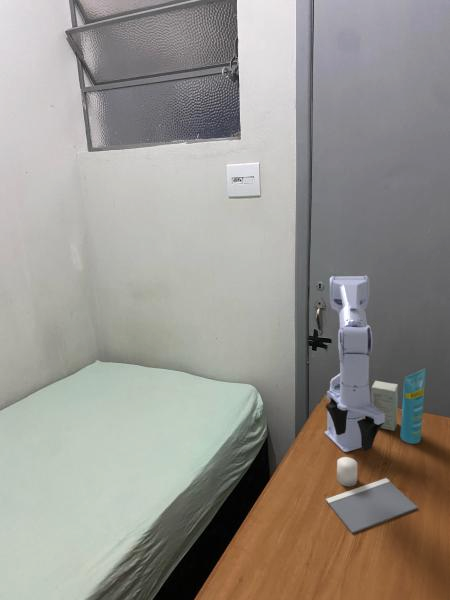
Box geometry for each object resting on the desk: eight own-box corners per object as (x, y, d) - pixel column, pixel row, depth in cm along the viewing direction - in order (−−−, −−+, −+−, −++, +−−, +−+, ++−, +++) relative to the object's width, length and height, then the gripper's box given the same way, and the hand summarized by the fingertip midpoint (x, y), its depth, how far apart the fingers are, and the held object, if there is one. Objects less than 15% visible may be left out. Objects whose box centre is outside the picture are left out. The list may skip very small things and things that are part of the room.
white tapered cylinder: (333, 476, 96) (333, 460, 94) (349, 471, 97) (349, 455, 96) (344, 488, 92) (344, 472, 90) (360, 483, 93) (361, 466, 92)
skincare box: (397, 423, 114) (399, 384, 110) (394, 431, 110) (396, 391, 107) (373, 418, 117) (375, 379, 114) (369, 425, 114) (371, 386, 110)
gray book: (325, 500, 89) (325, 498, 88) (385, 479, 93) (385, 477, 93) (352, 533, 80) (352, 531, 80) (417, 508, 85) (417, 506, 85)
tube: (410, 448, 103) (415, 380, 98) (393, 439, 107) (397, 373, 102) (427, 437, 107) (432, 370, 102) (410, 429, 111) (414, 364, 106)
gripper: (316, 375, 90) (316, 432, 93) (367, 398, 78) (366, 463, 80) (340, 369, 94) (339, 423, 96) (392, 390, 81) (390, 452, 84)
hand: (353, 441), depth 89 cm, fingers open, 7 cm apart
